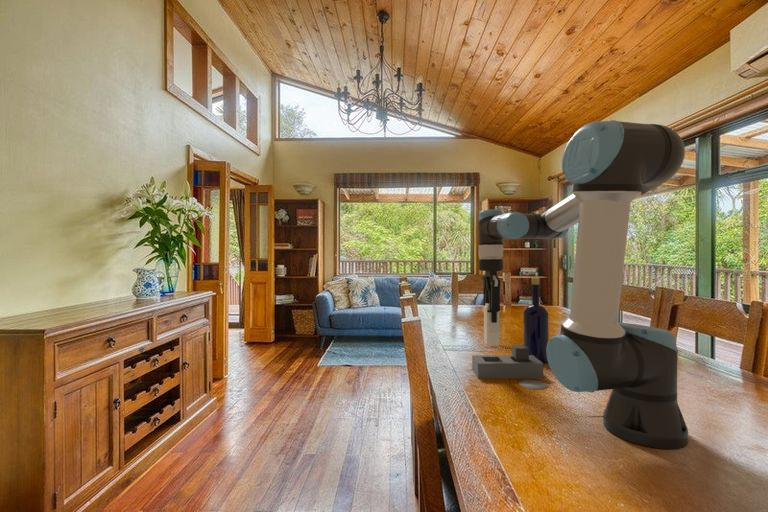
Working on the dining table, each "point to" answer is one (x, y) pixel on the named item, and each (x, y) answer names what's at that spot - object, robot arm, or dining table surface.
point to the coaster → (533, 384)
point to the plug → (488, 337)
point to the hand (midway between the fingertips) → (491, 330)
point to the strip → (508, 365)
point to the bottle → (536, 326)
